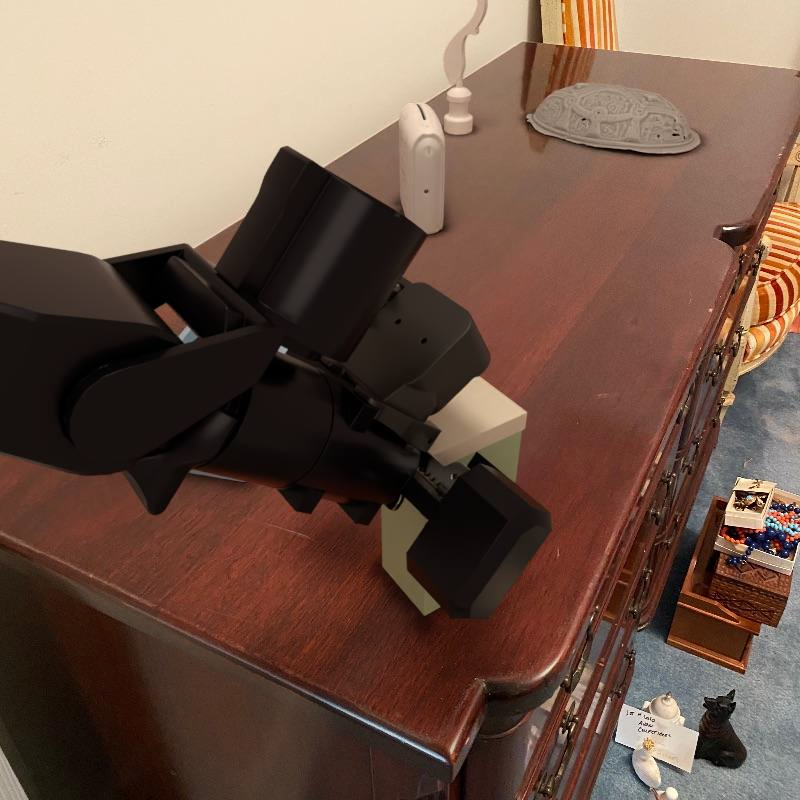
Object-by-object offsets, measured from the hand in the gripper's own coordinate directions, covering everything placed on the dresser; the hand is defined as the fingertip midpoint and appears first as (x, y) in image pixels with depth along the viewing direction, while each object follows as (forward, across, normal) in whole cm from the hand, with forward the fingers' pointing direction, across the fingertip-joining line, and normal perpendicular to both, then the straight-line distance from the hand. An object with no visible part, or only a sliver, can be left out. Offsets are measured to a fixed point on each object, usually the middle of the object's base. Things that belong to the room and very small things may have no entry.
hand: (470, 483), depth 46 cm
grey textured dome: (+53, +46, -40) cm, 81 cm away
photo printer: (+26, +42, -14) cm, 51 cm away
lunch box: (+4, 0, +6) cm, 7 cm away
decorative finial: (+41, +60, -29) cm, 78 cm away
